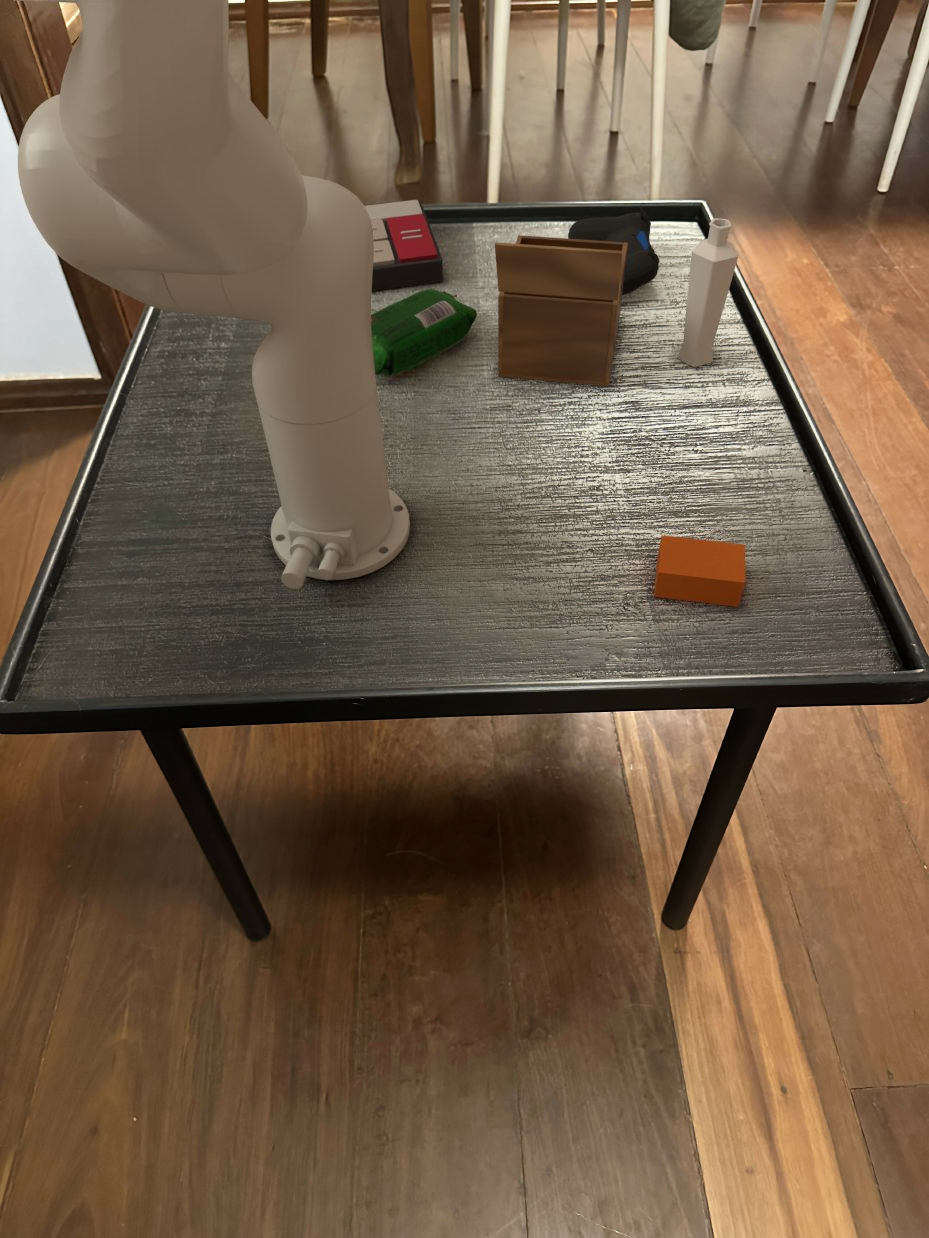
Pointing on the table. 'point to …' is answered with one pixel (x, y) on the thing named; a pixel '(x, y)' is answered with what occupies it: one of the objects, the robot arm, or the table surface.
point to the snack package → (417, 330)
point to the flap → (558, 271)
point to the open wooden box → (559, 328)
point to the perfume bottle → (707, 292)
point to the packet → (700, 571)
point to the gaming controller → (623, 229)
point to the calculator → (403, 246)
